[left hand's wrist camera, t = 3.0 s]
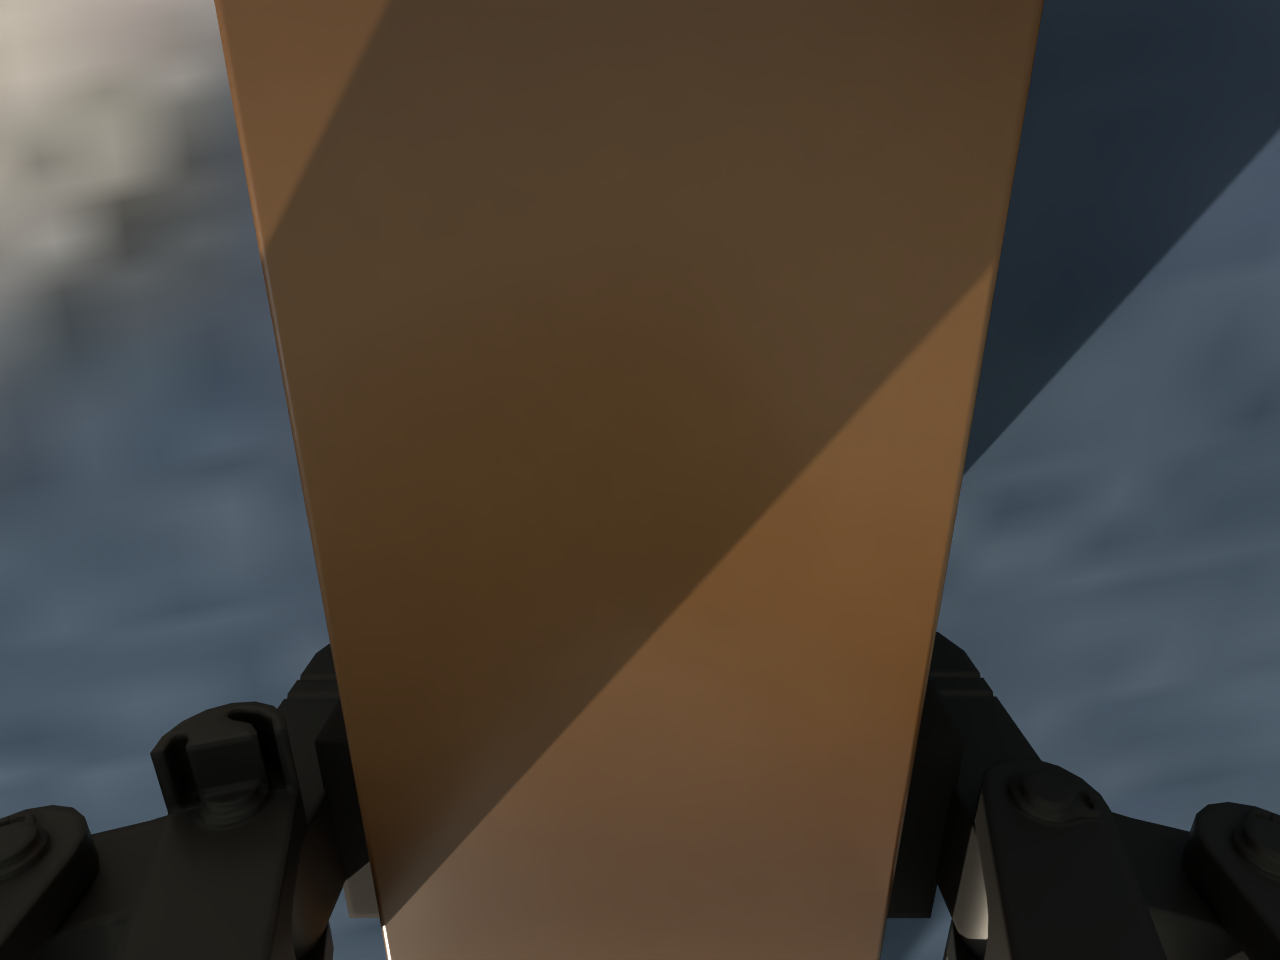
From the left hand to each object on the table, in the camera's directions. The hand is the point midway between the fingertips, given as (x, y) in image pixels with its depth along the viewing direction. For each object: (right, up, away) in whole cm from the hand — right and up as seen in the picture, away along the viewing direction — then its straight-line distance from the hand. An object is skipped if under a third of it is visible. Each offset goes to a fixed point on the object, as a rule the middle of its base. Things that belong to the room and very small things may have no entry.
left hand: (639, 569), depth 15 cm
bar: (0, +9, -3) cm, 10 cm away
